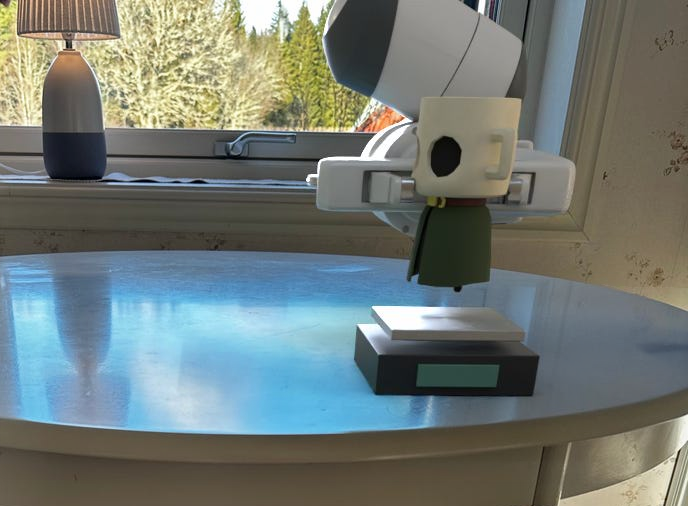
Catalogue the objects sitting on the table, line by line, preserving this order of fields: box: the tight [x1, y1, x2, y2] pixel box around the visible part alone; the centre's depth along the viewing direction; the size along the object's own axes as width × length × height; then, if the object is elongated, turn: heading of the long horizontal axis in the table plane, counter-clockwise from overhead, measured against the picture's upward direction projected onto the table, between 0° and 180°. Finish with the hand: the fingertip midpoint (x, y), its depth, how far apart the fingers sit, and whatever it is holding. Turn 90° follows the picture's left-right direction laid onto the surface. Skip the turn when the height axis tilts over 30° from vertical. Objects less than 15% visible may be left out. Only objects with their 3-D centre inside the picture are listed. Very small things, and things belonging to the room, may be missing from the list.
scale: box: [353, 323, 541, 397], centre depth 77 cm, size 12×12×3 cm
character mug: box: [406, 97, 522, 293], centre depth 71 cm, size 11×7×13 cm, turn 23°
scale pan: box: [370, 305, 527, 343], centre depth 75 cm, size 10×10×1 cm
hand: (461, 192), depth 70 cm, fingers closed on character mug, 7 cm apart
